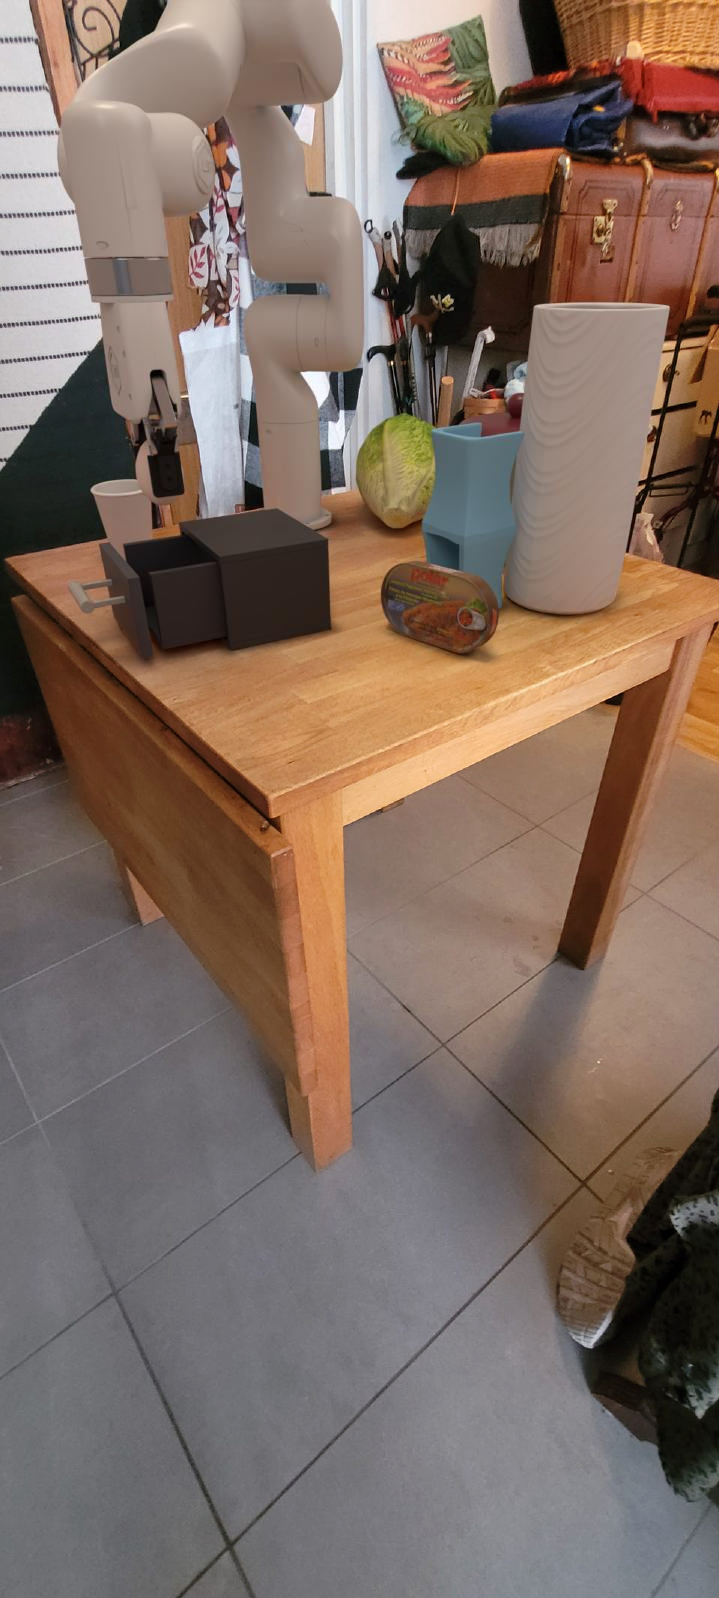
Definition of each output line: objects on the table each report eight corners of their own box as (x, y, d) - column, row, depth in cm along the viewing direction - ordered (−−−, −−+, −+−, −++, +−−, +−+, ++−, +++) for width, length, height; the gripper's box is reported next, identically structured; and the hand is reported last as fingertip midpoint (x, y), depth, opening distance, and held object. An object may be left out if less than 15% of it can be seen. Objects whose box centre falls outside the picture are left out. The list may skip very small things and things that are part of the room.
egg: (131, 506, 82) (119, 438, 78) (165, 496, 85) (155, 431, 81) (163, 513, 79) (153, 443, 75) (196, 503, 83) (188, 435, 79)
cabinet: (230, 650, 86) (219, 556, 80) (190, 608, 96) (178, 522, 90) (331, 629, 91) (328, 538, 84) (282, 590, 101) (277, 507, 95)
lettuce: (447, 564, 124) (352, 572, 127) (456, 476, 137) (370, 485, 141) (436, 482, 112) (332, 493, 115) (448, 394, 125) (354, 406, 129)
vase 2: (543, 625, 91) (587, 310, 73) (481, 587, 102) (505, 304, 83) (640, 606, 95) (704, 306, 77) (570, 571, 106) (612, 300, 88)
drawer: (98, 668, 80) (79, 586, 75) (73, 624, 90) (55, 549, 85) (243, 638, 87) (235, 560, 81) (205, 600, 96) (196, 528, 91)
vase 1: (507, 606, 96) (525, 431, 84) (459, 620, 92) (471, 440, 81) (466, 588, 101) (478, 421, 90) (419, 600, 98) (425, 429, 86)
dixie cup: (104, 568, 109) (90, 495, 103) (104, 551, 116) (90, 481, 110) (164, 563, 111) (153, 490, 105) (160, 546, 117) (150, 477, 112)
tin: (378, 627, 91) (379, 556, 86) (395, 619, 93) (397, 549, 88) (482, 663, 83) (489, 587, 78) (499, 654, 84) (507, 579, 80)
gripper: (71, 281, 75) (107, 477, 86) (110, 285, 63) (148, 513, 74) (146, 280, 78) (173, 470, 89) (198, 283, 66) (222, 503, 76)
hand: (161, 487), depth 81 cm, fingers closed on egg, 4 cm apart
